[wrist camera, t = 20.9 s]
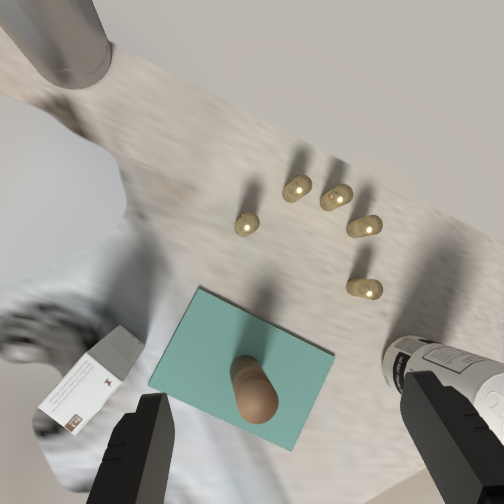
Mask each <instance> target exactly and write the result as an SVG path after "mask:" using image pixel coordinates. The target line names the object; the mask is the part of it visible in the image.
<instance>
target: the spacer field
mask: <svg viewBox="0 0 504 504" xmlns="http://www.w3.org/2000/svg"><path fill="white" fill-rule="evenodd" d="M311 188H312V181H311V179H310V178H309V177H308V176H306V175H303V174H301V175H298V176H296V177H295V178H294V179H293V180H292V181H291V182H290V183H289V184H288V185H287V186H286V187H285V188H284V189H283V191H282V195H283V198H284V199H285V200H286V201H287V202H290V203H293V202H296V201H297V200H299V199H300V198H302V197H303V196H304V195H306V194H307V193H309V192H310V190H311ZM352 198H353V191H352V189H351V187H350V186H348V185H346V184H341V185H338V186H337V187H335V188H333V189H332V190H330V191H328V192H327V193H325V194H323V195H322V196H321V198H320V206H321V207H322V208H323V209H324V210H326V211H331V210H333V209H336V208H338V207H340V206H342V205H345V204H347V203H349V202H350V201H351V200H352ZM259 223H260V222H259V218H258V216H257V215H256V214H254V213H252V212H246V213H244V214H242V215H241V216H240V218H239V219H238V220H237V222H236V223H235V227H234V228H235V232H236V233H237V234H238V235H239V236H242V237H246V236H248V235H250V234H251V233H253V232H254V231H256V230H257V229H258V227H259ZM382 227H383V223H382V220H381V219H380V217H378V216H376V215H370V216H366V217H363V218H360V219H357V220H354V221H351V222H349V223H348V225H347V228H346V230H347V233H348V235H349V236H350V237H352V238H359V237H364V236H370V235H375V234H378V233H379V232H380V231H381V230H382ZM346 288H347V291H348V293H349V294H350V295H352V296H356V297H362V298H367V299H372V300H375V299H378V298H380V297H381V295H382V293H383V286H382V284H381V283H380V282H379V281H378V280H373V279H359V278H353V279H351V280H349V281H348V283H347V286H346Z"/></svg>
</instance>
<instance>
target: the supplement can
mask: <svg viewBox="0 0 504 504" xmlns="http://www.w3.org/2000/svg"><path fill="white" fill-rule="evenodd" d="M382 364H383V375H384V378H385V381H386V383H387V385H388V386H389V387H390V388H391V389H392V391H393V392H395V393H396V394H398V395H400V396H402V390H403V384H404V378H405V374H406V373H407V372H414V371H425V370H431V371H432V372H434V373H435V375H436V376H437V378H438V379H439V380H440V382H441V383H442V385H443V386H452V387H454V388H455V389H456V390H458V391H459V392H460V393H462V394H463V395H464V396H465V397H467V398H468V399H469V401H470V402H471V403H472V405H473V406H474V407H475V408H476V410H477V411H478V412H479V415H480V417H482V418H483V419H484V420H485V422H486V423H487V424H488V426H489V428H490V430H492V431H493V432H494V433H495V435H496V436H497V437H498V439H499V440H500V441H501V443H502V444H503V445H504V363H501V362H498V361H494V360H491V359H488V358H485V357H482V356H479V355H476V354H472V353H469V352H466V351H463V350H460V349H457V348H454V347H451V346H447V345H444V344H441V343H438V342H435V341H432V340H429V339H425V338H422V337H419V336H412V335H408V336H404V337H400V338H399V339H397V340H396V341H394V342H393V343H392V344H391V345H390V346H389V348H388V349H387V351H386V352H385V356H384V359H383V362H382Z"/></svg>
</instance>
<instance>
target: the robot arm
mask: <svg viewBox="0 0 504 504" xmlns="http://www.w3.org/2000/svg"><path fill="white" fill-rule="evenodd" d="M0 26H1V27H2V28H3V30H4V31H5V32H6V33H7V34H8V36H9V37H10V38H11V39H12V40H13V42H14V43H15V44H16V45H17V46H18V48H19V49H20V50H21V51H22V53H23V54H24V55H25V56H26V57H27V59H28V60H29V61H30V62H31V63H32V65H33V66H34V67H35V68H36V69H37V71H38V72H39V73H40V74H41V75H42V76H43V77H44V78H45V79H46V80H48V81H49V82H51V83H53V84H54V85H57V86H60V87H63V88H68V89H81V88H85V87H89V86H91V85H93V84H95V83H96V82H98V81H99V80H100V79H101V78H102V77H103V76H104V75H105V73H106V72H107V70H108V68H109V66H110V62H111V48H110V44H109V41H108V39H107V37H106V34H105V32H104V29H103V27H102V25H101V22H100V19H99V17H98V14H97V12H96V9H95V7H94V5H93V2H92V0H0ZM400 410H401V415H402V418H403V421H404V424H405V426H406V428H407V430H408V432H409V434H410V435H411V437H412V439H413V441H414V443H415V445H416V447H417V449H418V451H419V453H420V455H421V457H422V459H423V461H424V463H425V465H426V467H427V469H428V471H429V473H430V475H431V476H432V478H433V480H434V482H435V484H436V486H437V488H438V490H439V492H440V494H441V496H442V498H443V500H444V502H445V504H504V445H503V444H502V443H501V441H500V440H499V439H498V437H497V436H496V435H495V433H494V432H493V431H492V430H490V428H489V426H488V424H487V423H486V422H485V420H484V419H483V418H482V417H480V415H479V412H478V411H477V410H476V408H475V407H474V406H473V405H472V403H471V402H470V401H469V399H468V398H467V397H465V396H464V395H463V394H462V393H460V392H459V391H458V390H456V389H455V388H454V387H452V386H443V385H442V383H441V382H440V380H439V379H438V378H437V376H436V375H435V373H434V372H432V371H431V370H425V371H414V372H407V373H406V374H405V378H404V384H403V390H402V396H401V402H400ZM174 439H175V427H174V421H173V417H172V413H171V409H170V405H169V401H168V397H167V394H166V393H165V392H164V393H152V394H143V395H142V396H141V398H140V400H139V403H138V406H137V409H136V412H135V413H125V414H124V416H123V417H122V418H121V420H120V421H119V422H118V423H117V425H116V426H115V427H114V429H113V431H112V434H111V437H110V440H109V442H108V445H107V446H108V447H107V449H106V450H105V453H104V456H103V459H102V463H101V464H100V467H99V470H98V472H97V475H96V478H95V480H94V483H93V486H92V489H91V491H90V494H89V497H88V500H87V502H86V504H163V502H164V497H165V491H166V485H167V480H168V474H169V469H170V463H171V457H172V452H173V446H174Z"/></svg>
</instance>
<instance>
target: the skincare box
mask: <svg viewBox="0 0 504 504" xmlns="http://www.w3.org/2000/svg"><path fill="white" fill-rule="evenodd" d="M144 348H145V345H144V344H143V343H142V342H141V341H139V340H138V339H137V338H136V337H135V336H133V335H132V334H131V333H130V332H129V331H127V330H126V329H125V328H124V327H123V326H121V325H118V326H117V327H116V328H115V329H114V330H112V331H111V332H110V333H109V334H108V335H106V336H105V337H104V338H103V339H101V340H100V341H99V342H98V343H97V344H96V345H95V346H93V347H92V348H91V349H90V350H88V351H87V352H86V353H85V354H84V355H83V356H82V357H81V358H80V359H79V360H78V362H77V363H76V364H75V365H74V366H73V367H72V368H71V369H70V371H69V372H68V373H67V374H66V375H65V376H64V377H63V378H62V380H61V381H60V382H59V383H58V384H57V385H56V386H55V387H54V389H53V390H52V391H51V392H50V393H49V394H48V395H47V396H46V398H45V399H44V400H43V401H42V402H41V404H40V405H38V408H40V409H41V410H43V411H44V412H45V413H47V414H48V415H49V416H50V417H52V418H53V419H54V420H56V421H57V422H58V423H60V424H61V425H62V426H63V427H65V428H66V429H67V430H69V431H70V432H71V433H72V434H74V435H76V434H78V432H79V431H80V430H81V429H82V428H83V427H84V426H85V425H86V423H87V422H88V421H89V420H90V419H91V418H92V417H93V415H94V414H96V413H97V412H98V411H99V410H100V409H101V407H102V406H103V405H104V403H105V402H106V401H107V400H108V399H109V397H110V396H111V395H112V394H113V393H114V392H115V391H116V389H117V388H118V387H119V386H120V385H121V384H122V382H123V381H124V380H125V378H126V377H127V375H128V373H129V372H130V370H131V368H132V367H133V365H134V363H135V362H136V360H137V359H138V357H139V356H140V354H141V353H142V351H143V349H144Z"/></svg>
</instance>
